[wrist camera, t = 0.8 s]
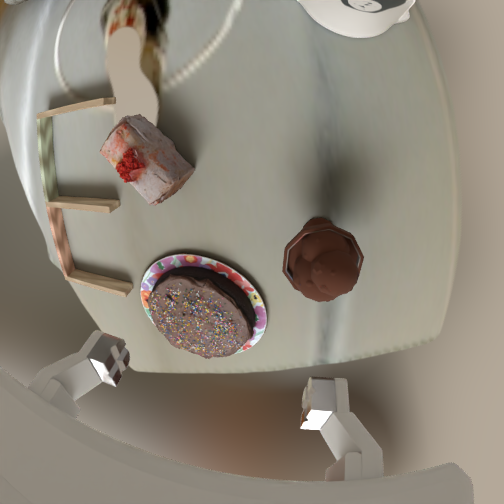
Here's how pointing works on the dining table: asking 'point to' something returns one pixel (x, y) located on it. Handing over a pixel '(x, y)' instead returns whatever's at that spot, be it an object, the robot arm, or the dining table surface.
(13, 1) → the gourd
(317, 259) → the ice cream bowl
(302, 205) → the dining table surface
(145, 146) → the food item
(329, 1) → the robot arm
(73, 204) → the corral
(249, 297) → the chocolate cake
